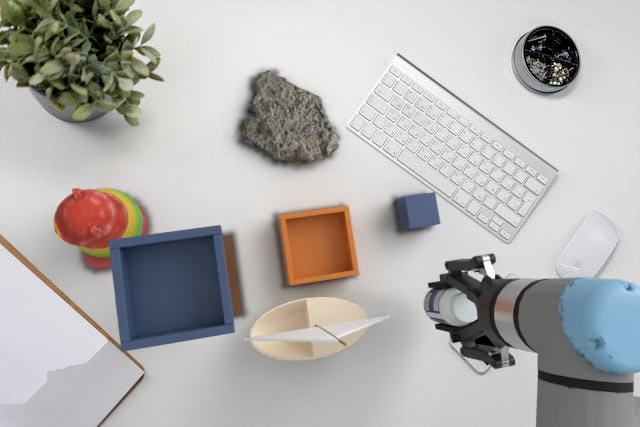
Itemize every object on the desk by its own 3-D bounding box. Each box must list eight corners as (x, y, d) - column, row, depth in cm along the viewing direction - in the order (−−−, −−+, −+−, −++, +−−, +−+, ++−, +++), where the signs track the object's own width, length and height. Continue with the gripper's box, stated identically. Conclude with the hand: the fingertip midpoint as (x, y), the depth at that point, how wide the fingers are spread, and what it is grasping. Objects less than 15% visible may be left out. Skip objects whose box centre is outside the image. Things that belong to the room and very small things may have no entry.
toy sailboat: (253, 406, 55) (243, 320, 55) (247, 364, 79) (240, 305, 80) (443, 372, 58) (430, 292, 59) (380, 342, 83) (372, 286, 84)
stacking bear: (67, 204, 77) (19, 184, 60) (136, 182, 79) (109, 157, 62) (90, 273, 77) (49, 274, 59) (159, 250, 79) (138, 244, 61)
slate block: (428, 226, 86) (440, 223, 81) (399, 230, 85) (409, 228, 80) (423, 196, 87) (435, 191, 82) (394, 200, 86) (404, 196, 81)
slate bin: (243, 313, 80) (250, 344, 46) (161, 327, 78) (108, 369, 44) (232, 235, 81) (232, 209, 47) (151, 246, 79) (91, 228, 45)
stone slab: (316, 185, 84) (319, 182, 81) (223, 131, 82) (223, 126, 79) (352, 120, 86) (357, 115, 83) (262, 67, 85) (264, 59, 82)
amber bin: (353, 274, 83) (359, 274, 79) (286, 285, 81) (289, 285, 77) (343, 208, 84) (348, 205, 80) (277, 217, 82) (279, 214, 78)
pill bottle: (463, 308, 80) (494, 312, 70) (435, 329, 79) (463, 336, 69) (443, 279, 80) (471, 278, 70) (415, 299, 79) (440, 302, 69)
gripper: (573, 395, 56) (474, 362, 79) (539, 223, 58) (452, 239, 80) (508, 409, 55) (427, 371, 77) (476, 233, 56) (406, 246, 79)
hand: (440, 304), depth 79 cm, fingers closed on pill bottle, 5 cm apart
